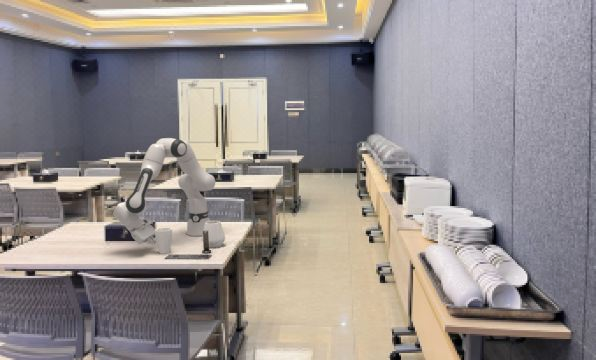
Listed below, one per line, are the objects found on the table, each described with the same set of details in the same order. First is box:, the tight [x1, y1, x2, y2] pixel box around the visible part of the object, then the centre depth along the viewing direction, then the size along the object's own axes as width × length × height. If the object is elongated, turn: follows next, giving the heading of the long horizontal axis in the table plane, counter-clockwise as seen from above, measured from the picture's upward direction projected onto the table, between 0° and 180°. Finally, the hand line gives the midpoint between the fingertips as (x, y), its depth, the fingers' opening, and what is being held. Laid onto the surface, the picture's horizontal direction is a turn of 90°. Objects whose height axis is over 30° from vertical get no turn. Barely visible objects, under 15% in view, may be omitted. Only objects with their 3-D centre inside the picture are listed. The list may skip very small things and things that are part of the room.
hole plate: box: [164, 253, 213, 260], centre depth 280 cm, size 7×24×1 cm, turn 83°
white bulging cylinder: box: [201, 220, 226, 249], centre depth 303 cm, size 13×13×14 cm
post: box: [201, 231, 212, 255], centre depth 288 cm, size 5×5×12 cm
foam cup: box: [154, 227, 173, 255], centre depth 291 cm, size 10×9×13 cm
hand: (154, 243), depth 292 cm, fingers closed
